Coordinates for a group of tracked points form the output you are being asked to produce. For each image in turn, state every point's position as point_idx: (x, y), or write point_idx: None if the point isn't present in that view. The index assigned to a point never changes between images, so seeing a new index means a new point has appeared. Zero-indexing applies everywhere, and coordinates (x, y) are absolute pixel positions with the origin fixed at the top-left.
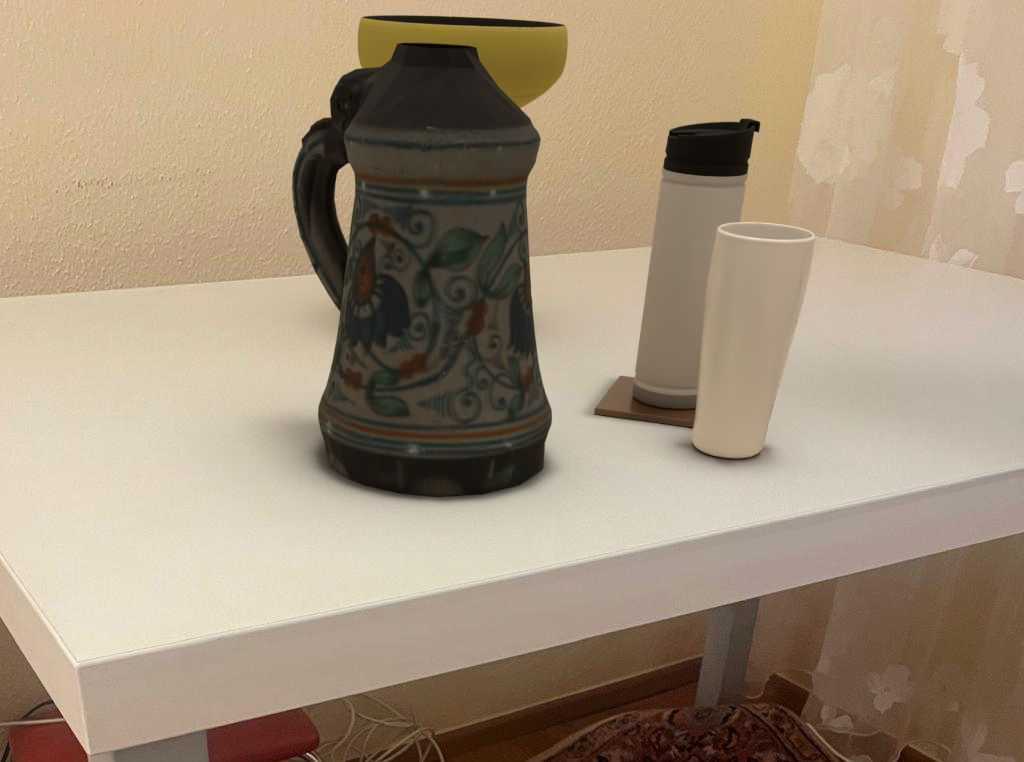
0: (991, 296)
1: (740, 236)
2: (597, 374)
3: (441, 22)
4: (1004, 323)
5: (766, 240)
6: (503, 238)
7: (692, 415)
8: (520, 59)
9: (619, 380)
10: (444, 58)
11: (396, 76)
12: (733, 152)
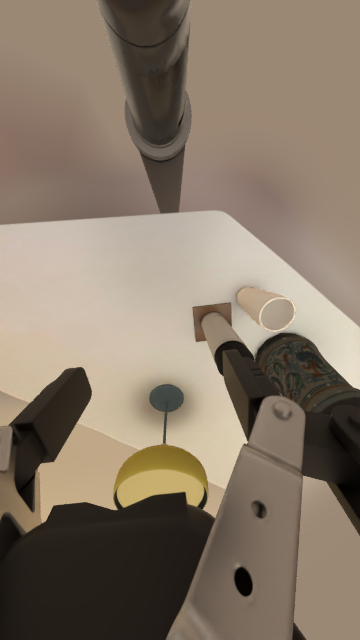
0: None
1: (292, 320)
2: (191, 348)
3: None
4: (5, 228)
5: (295, 311)
6: (338, 375)
7: (226, 312)
8: (187, 459)
9: (201, 340)
10: None
11: None
12: (247, 348)
